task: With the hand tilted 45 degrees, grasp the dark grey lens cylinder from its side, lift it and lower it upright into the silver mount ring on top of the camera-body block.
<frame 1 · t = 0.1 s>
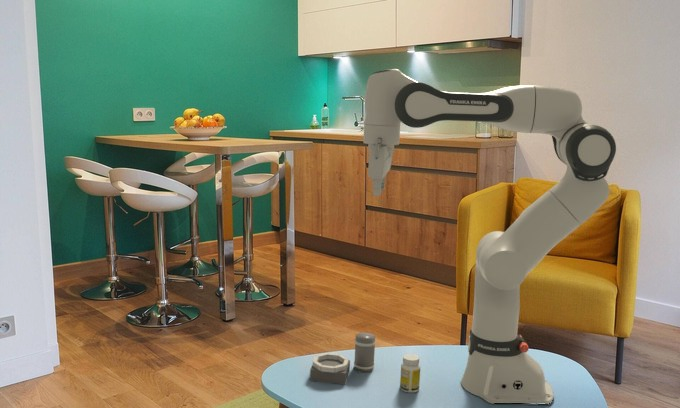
hand: (378, 192, 156), 48 cm above the table, tool pointing down, fingers open, 8 cm apart
lens: (363, 368, 167), on the table
supplement bottle: (409, 389, 157), on the table
camera body: (330, 375, 162), on the table
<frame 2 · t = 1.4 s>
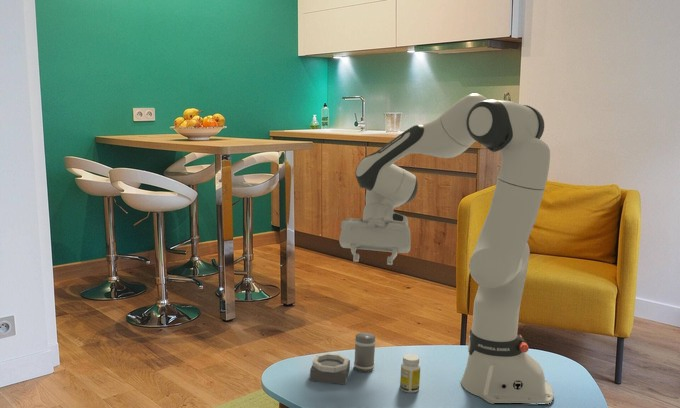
hand: (372, 262, 175), 26 cm above the table, tool tilted 45°, fingers open, 8 cm apart
nothing on the table moved.
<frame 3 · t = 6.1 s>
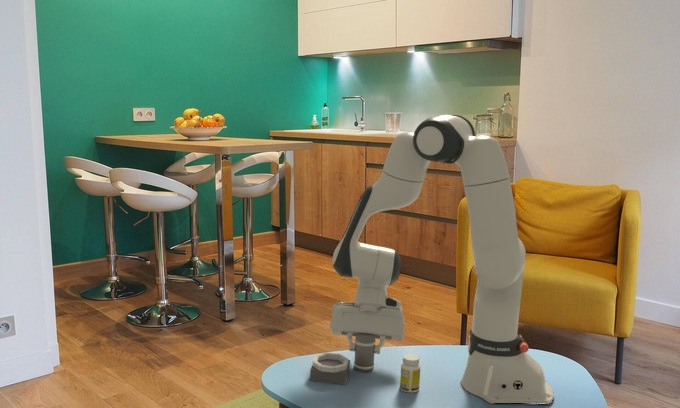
hand: (364, 351, 166), 5 cm above the table, tool tilted 45°, fingers closed on lens, 5 cm apart
lens: (363, 368, 167), on the table, touching gripper
everything else where it was.
when the fingers open (9 cm above the table, at t = 12.1 s): lens drops 1 cm, resting on camera body.
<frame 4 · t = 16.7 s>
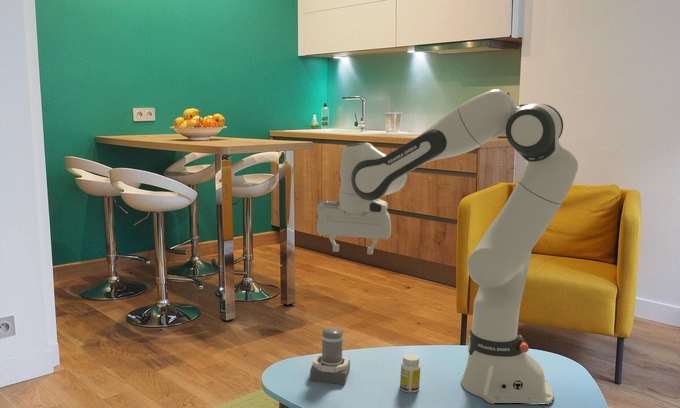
hand: (352, 252, 172), 29 cm above the table, tool pointing down, fingers open, 8 cm apart
lens: (331, 364, 162), point 3 cm above the table, touching camera body
everything else where it was.
at the end: lens 0.3 cm off-centre on the camera body, point 3.0 cm above the camera body's base; lens tilted 1°; the gripper is holding nothing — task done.
